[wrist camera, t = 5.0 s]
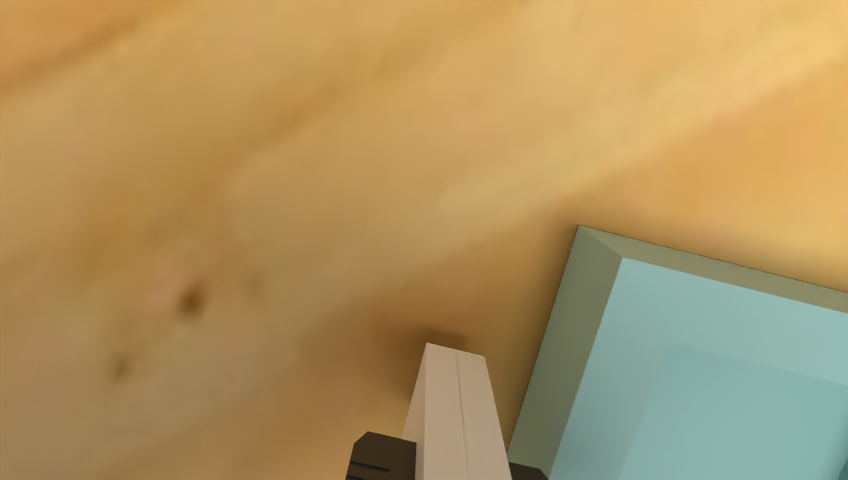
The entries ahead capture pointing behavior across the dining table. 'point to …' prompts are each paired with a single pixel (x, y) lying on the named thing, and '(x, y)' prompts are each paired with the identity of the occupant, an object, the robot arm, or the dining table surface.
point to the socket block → (685, 371)
